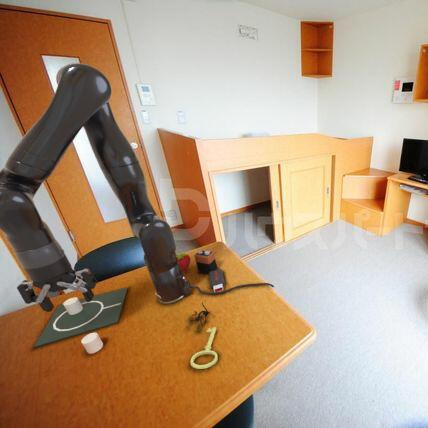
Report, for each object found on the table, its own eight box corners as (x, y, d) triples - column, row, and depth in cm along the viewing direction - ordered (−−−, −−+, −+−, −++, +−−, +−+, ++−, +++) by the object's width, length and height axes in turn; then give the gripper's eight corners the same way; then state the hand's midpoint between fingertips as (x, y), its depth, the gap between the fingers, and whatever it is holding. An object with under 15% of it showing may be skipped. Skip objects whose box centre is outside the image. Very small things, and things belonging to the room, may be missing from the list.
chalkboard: (128, 288, 94) (127, 287, 93) (117, 322, 79) (117, 321, 79) (59, 306, 85) (58, 304, 85) (34, 348, 71) (33, 346, 71)
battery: (211, 274, 102) (207, 255, 98) (198, 272, 103) (193, 253, 99) (217, 268, 106) (213, 249, 101) (204, 266, 107) (199, 247, 103)
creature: (194, 338, 76) (216, 320, 80) (186, 329, 73) (210, 310, 77) (184, 324, 81) (206, 307, 85) (177, 315, 78) (200, 298, 82)
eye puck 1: (84, 305, 85) (79, 295, 83) (81, 312, 82) (75, 303, 80) (71, 308, 84) (65, 299, 82) (67, 316, 81) (61, 306, 79)
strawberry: (173, 276, 100) (167, 257, 96) (183, 265, 107) (177, 246, 103) (186, 277, 100) (181, 257, 96) (196, 265, 107) (191, 247, 103)
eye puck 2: (104, 340, 73) (99, 330, 72) (101, 350, 71) (95, 340, 69) (89, 345, 72) (83, 335, 70) (85, 355, 69) (79, 345, 67)
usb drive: (222, 272, 103) (221, 267, 102) (226, 290, 94) (225, 284, 93) (209, 275, 101) (208, 270, 100) (211, 294, 92) (210, 288, 90)
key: (217, 329, 78) (216, 325, 77) (218, 364, 67) (217, 360, 66) (192, 337, 75) (191, 332, 74) (190, 374, 65) (188, 370, 64)
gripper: (-6, 275, 55) (29, 323, 62) (74, 259, 61) (98, 305, 68) (13, 257, 61) (44, 303, 68) (84, 245, 67) (106, 288, 74)
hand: (71, 304), depth 68 cm, fingers open, 8 cm apart
